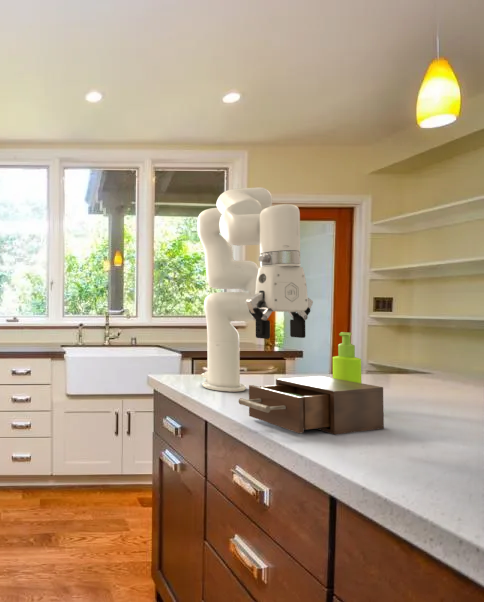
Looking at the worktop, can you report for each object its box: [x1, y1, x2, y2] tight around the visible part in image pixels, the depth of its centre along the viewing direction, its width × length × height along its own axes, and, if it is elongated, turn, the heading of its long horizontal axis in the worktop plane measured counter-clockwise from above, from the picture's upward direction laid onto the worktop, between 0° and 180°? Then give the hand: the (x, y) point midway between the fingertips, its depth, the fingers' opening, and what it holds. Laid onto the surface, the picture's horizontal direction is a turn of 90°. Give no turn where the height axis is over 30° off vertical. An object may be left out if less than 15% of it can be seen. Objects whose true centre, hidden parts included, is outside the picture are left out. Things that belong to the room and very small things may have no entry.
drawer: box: [238, 384, 331, 434], centre depth 82 cm, size 19×12×7 cm, turn 105°
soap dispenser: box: [331, 331, 362, 383], centre depth 98 cm, size 6×7×20 cm
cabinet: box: [275, 375, 385, 436], centre depth 86 cm, size 15×14×9 cm
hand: (280, 337), depth 82 cm, fingers open, 9 cm apart
